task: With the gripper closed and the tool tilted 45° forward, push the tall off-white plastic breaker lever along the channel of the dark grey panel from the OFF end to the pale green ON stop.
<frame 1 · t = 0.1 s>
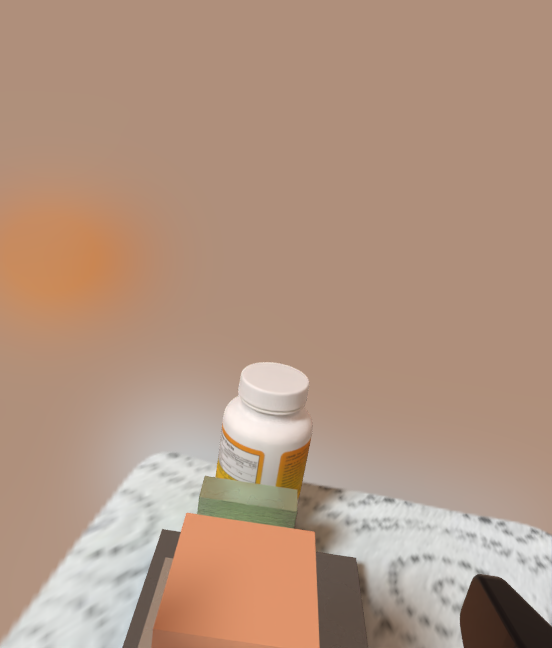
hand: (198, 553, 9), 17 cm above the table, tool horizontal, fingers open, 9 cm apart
supplement bottle: (252, 513, 34), on the table
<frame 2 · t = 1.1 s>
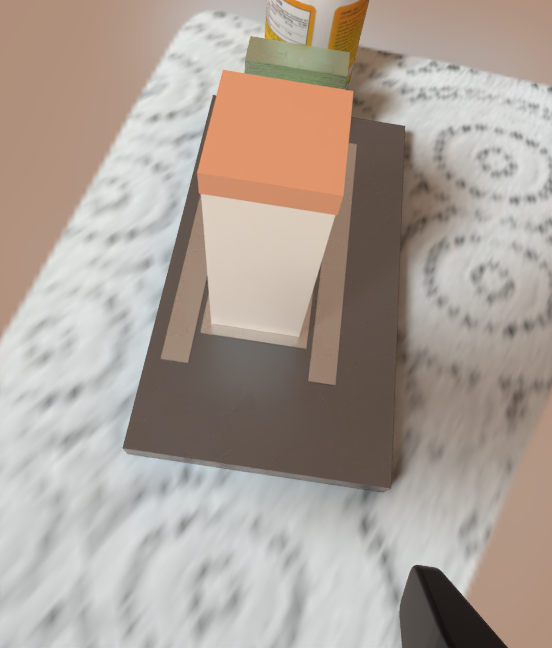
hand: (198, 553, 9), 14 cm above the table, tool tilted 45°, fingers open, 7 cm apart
supplement bottle: (305, 80, 33), on the table
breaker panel: (285, 272, 27), on the table
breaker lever: (268, 229, 20), point 6 cm above the table, slide at 0.0 cm
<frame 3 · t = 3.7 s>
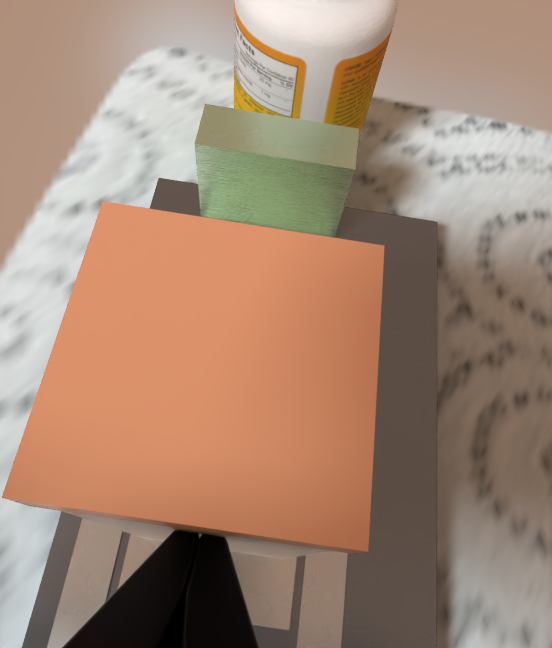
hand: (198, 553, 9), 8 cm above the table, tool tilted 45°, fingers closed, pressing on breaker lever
supplement bottle: (293, 147, 24), on the table
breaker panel: (259, 464, 17), on the table
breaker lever: (223, 440, 11), point 6 cm above the table, slide at 1.2 cm, touching gripper
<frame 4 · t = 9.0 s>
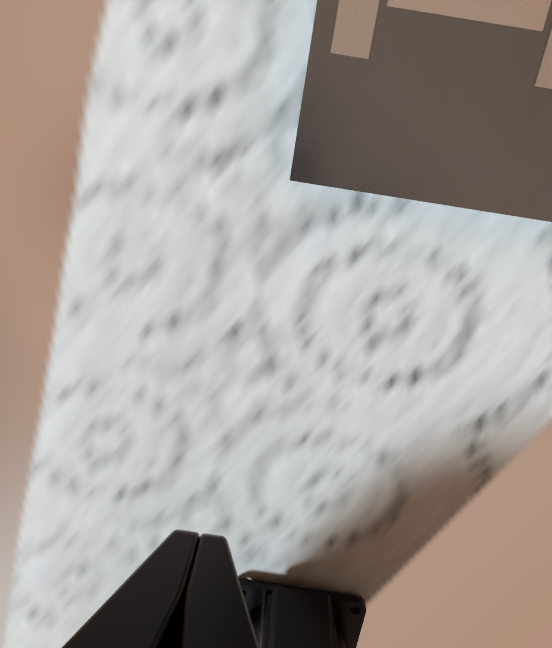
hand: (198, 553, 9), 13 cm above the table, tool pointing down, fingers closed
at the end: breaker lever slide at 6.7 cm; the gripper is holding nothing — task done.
